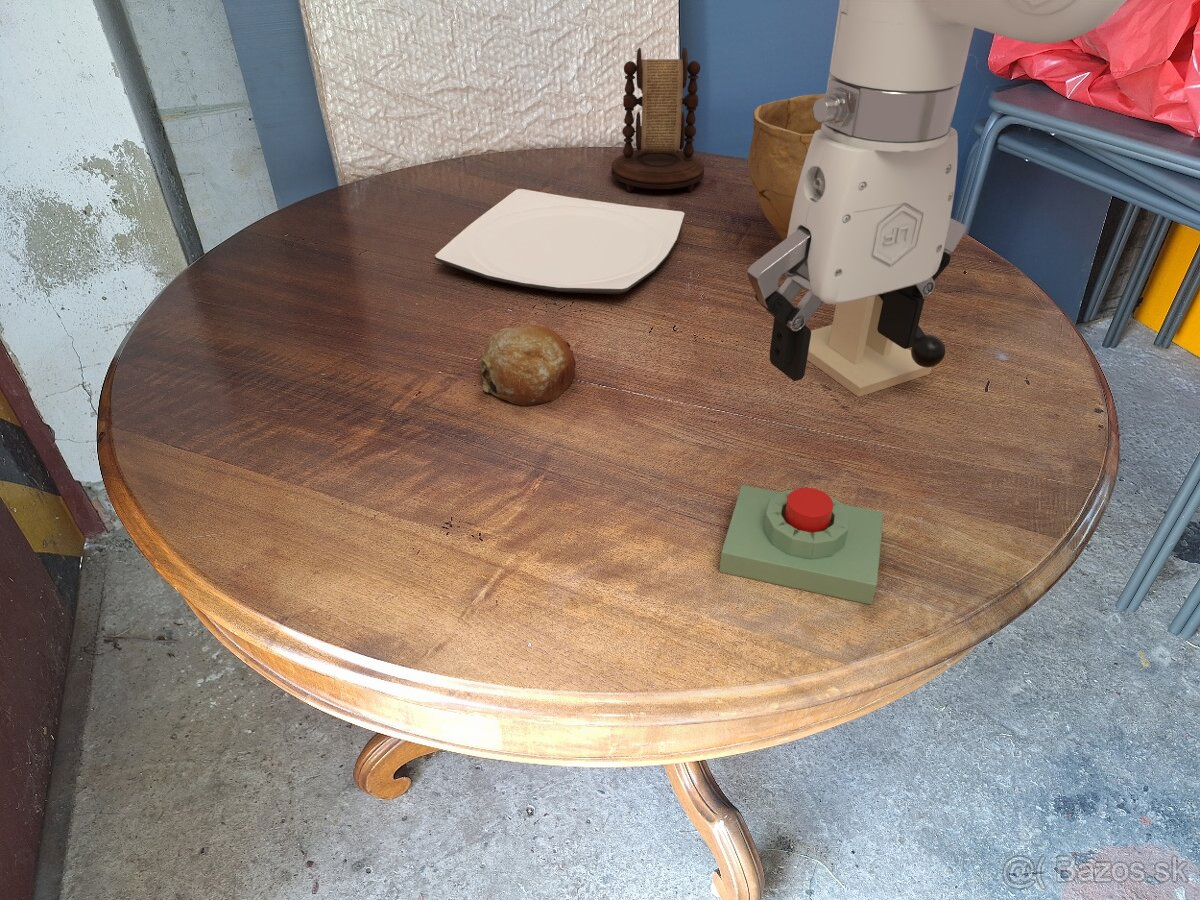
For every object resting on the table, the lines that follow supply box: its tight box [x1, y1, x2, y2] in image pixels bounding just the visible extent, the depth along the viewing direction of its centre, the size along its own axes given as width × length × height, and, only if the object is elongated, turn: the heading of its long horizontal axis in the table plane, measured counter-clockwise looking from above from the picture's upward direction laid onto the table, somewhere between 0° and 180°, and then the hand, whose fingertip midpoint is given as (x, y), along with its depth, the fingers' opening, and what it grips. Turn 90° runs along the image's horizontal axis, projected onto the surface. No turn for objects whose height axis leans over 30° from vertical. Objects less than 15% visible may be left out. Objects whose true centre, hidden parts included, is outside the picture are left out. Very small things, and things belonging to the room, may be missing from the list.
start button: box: [785, 487, 833, 533], centre depth 71 cm, size 4×4×2 cm
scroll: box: [610, 46, 705, 193], centre depth 137 cm, size 15×15×20 cm
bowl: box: [747, 93, 826, 242], centre depth 112 cm, size 21×20×20 cm
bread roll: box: [479, 325, 577, 407], centre depth 94 cm, size 10×10×8 cm
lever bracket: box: [807, 295, 933, 398], centre depth 95 cm, size 12×10×12 cm
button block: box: [718, 484, 885, 606], centre depth 73 cm, size 12×9×4 cm
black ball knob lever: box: [879, 293, 946, 368], centre depth 91 cm, size 13×3×3 cm, turn 28°
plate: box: [434, 188, 686, 295], centre depth 121 cm, size 29×29×3 cm
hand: (841, 355), depth 64 cm, fingers open, 9 cm apart
